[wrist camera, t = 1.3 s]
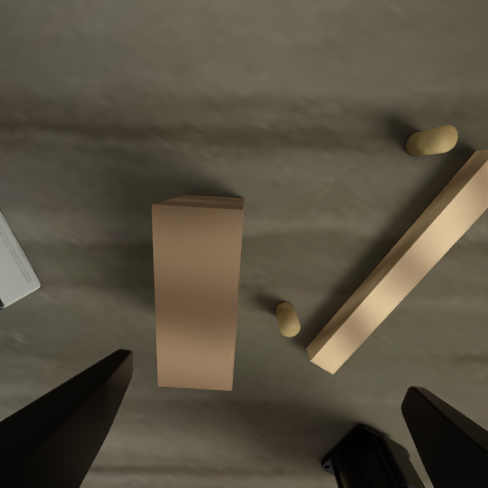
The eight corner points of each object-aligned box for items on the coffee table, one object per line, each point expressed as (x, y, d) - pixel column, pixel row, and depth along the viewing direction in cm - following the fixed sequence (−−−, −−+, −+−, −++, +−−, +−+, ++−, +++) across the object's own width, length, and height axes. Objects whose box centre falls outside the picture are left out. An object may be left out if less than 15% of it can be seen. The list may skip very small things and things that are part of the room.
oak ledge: (327, 360, 22) (336, 383, 20) (263, 322, 22) (266, 341, 19) (499, 170, 18) (538, 169, 16) (429, 111, 17) (459, 100, 15)
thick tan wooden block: (236, 324, 22) (232, 390, 15) (183, 321, 22) (155, 386, 15) (244, 198, 19) (242, 210, 12) (183, 194, 19) (148, 204, 12)
